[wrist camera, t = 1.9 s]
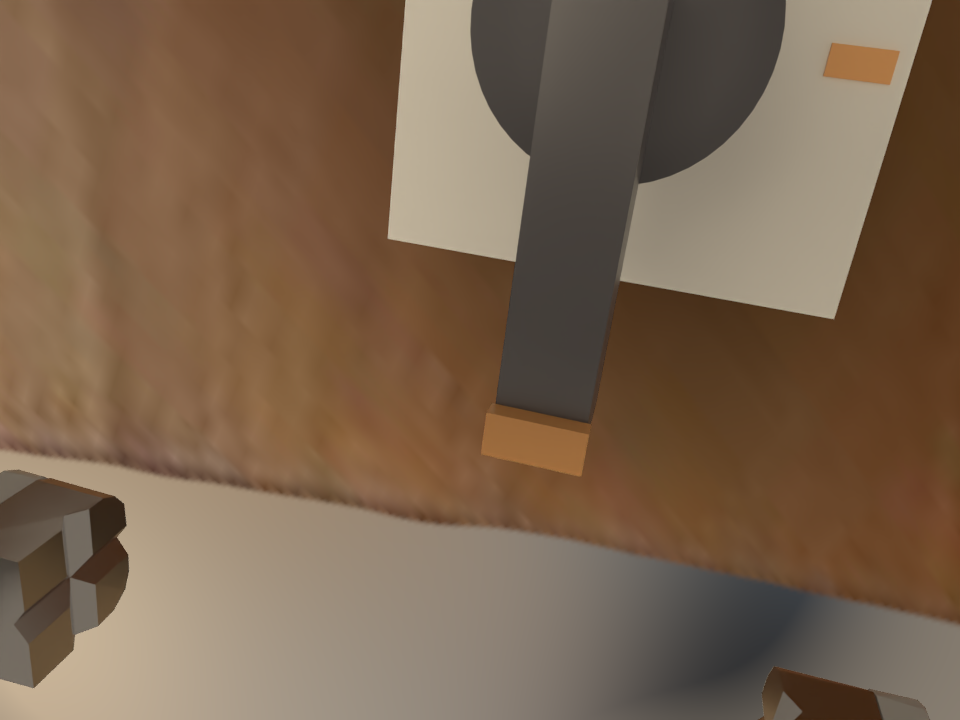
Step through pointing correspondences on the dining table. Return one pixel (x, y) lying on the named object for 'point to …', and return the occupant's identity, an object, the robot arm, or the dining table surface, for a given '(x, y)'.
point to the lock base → (696, 190)
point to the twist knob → (598, 174)
